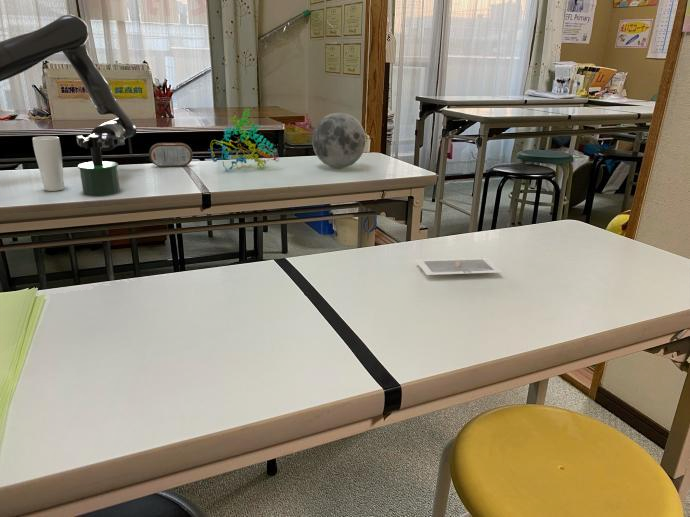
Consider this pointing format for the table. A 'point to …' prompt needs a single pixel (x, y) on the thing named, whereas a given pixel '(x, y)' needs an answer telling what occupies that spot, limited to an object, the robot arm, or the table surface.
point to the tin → (170, 154)
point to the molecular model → (245, 143)
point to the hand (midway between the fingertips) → (92, 145)
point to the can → (100, 182)
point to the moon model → (338, 140)
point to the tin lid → (96, 158)
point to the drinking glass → (49, 161)
